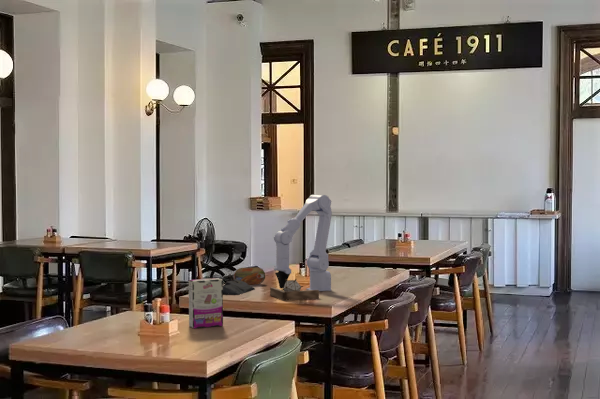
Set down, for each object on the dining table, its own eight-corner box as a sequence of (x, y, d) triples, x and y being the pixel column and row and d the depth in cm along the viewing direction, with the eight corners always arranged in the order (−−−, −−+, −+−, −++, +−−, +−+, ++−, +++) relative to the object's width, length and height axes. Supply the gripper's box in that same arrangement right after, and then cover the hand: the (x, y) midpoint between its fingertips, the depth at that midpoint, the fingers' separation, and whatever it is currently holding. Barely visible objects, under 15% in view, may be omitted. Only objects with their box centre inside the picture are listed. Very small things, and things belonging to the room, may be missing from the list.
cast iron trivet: (206, 294, 345) (206, 284, 344) (227, 288, 365) (227, 278, 365) (238, 296, 340) (238, 285, 340) (257, 289, 361) (257, 279, 360)
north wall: (317, 297, 335) (317, 289, 335) (318, 298, 334) (318, 290, 334) (282, 299, 328) (282, 291, 328) (283, 300, 327) (283, 292, 327)
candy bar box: (218, 323, 274) (218, 277, 273) (223, 326, 269) (223, 279, 269) (187, 326, 269) (188, 279, 268) (192, 328, 264) (193, 281, 264)
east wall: (273, 295, 341) (273, 287, 341) (286, 300, 328) (287, 292, 328) (270, 295, 341) (270, 287, 340) (283, 300, 327) (283, 292, 327)
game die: (295, 306, 335) (301, 290, 329) (277, 299, 335) (282, 282, 330) (301, 293, 342) (307, 277, 336) (283, 286, 343) (288, 270, 337)
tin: (234, 285, 372) (234, 267, 372) (233, 284, 375) (233, 267, 375) (265, 284, 375) (265, 267, 375) (264, 283, 378) (264, 266, 378)
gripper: (268, 256, 351) (267, 286, 351) (281, 259, 338) (280, 290, 338) (282, 256, 354) (282, 285, 354) (295, 259, 341) (295, 290, 341)
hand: (282, 288), depth 346 cm, fingers closed
